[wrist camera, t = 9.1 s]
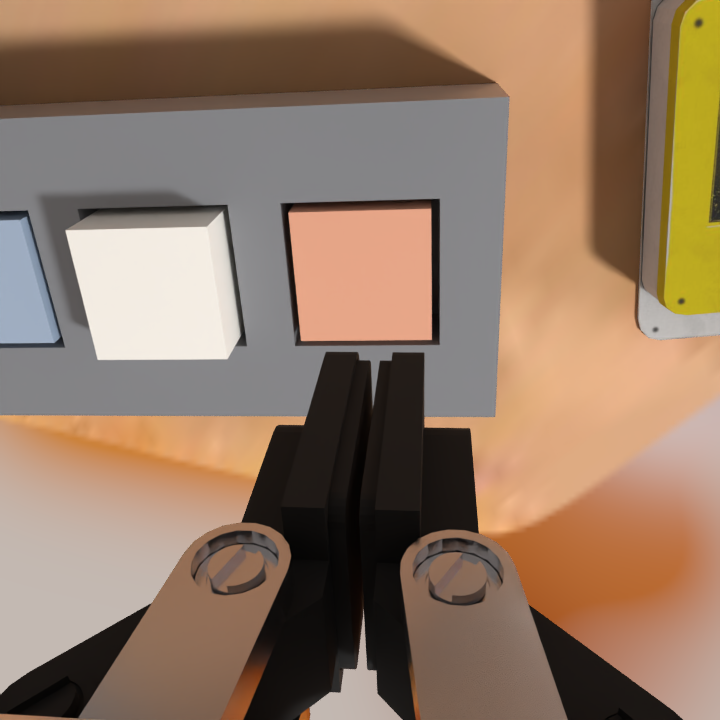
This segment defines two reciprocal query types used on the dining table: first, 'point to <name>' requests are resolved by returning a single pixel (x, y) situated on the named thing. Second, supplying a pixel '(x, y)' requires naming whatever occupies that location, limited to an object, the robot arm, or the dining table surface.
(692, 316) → the emergency button
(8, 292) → the slate blue key
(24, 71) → the dining table surface
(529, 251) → the dining table surface
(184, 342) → the off white key
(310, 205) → the terracotta key
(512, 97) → the dining table surface
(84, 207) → the key panel
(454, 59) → the dining table surface
